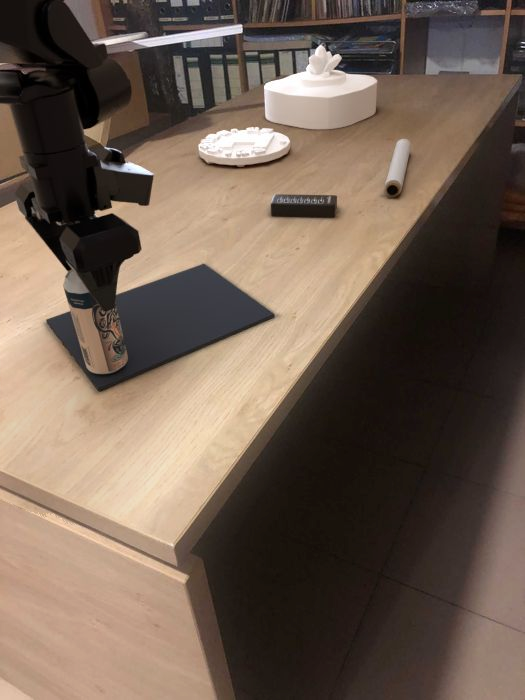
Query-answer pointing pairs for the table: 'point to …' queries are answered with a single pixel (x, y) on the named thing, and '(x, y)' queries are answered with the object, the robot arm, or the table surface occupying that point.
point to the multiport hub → (304, 206)
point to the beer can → (95, 328)
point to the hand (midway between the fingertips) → (92, 292)
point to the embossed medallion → (243, 146)
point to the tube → (398, 168)
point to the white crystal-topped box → (321, 96)
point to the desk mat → (169, 321)
